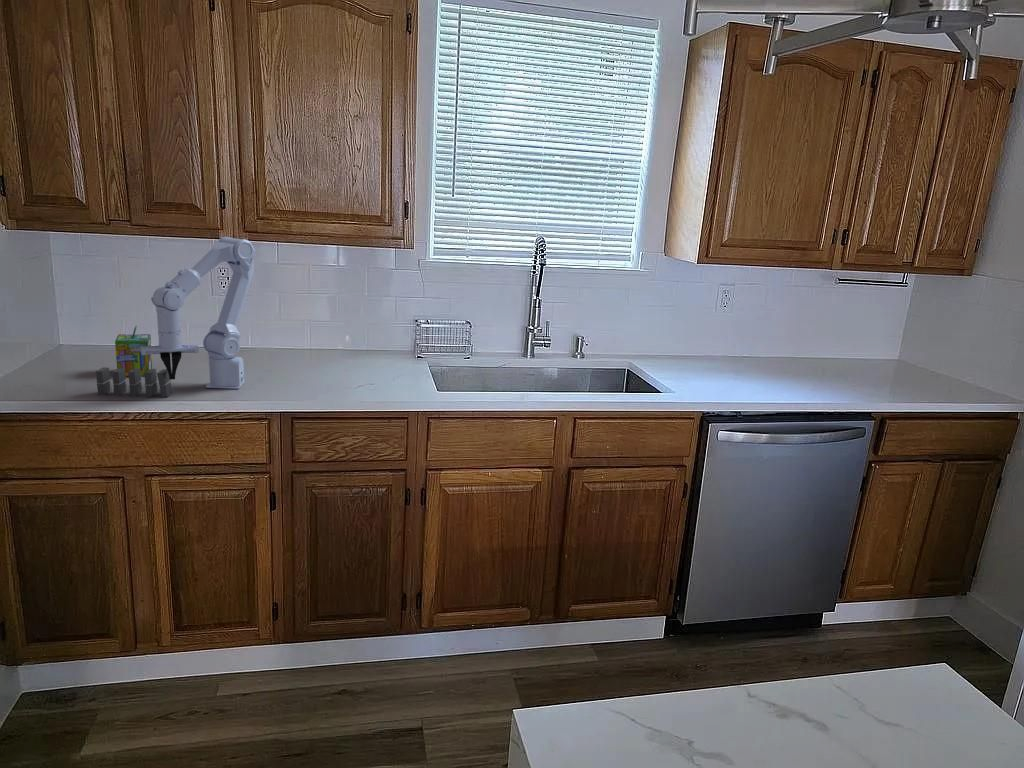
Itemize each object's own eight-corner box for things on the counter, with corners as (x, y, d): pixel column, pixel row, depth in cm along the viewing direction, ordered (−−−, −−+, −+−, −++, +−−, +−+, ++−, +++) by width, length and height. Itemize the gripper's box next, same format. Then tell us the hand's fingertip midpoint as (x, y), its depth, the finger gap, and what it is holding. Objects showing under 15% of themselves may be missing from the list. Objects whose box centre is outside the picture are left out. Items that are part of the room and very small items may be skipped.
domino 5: (172, 392, 207) (168, 368, 205) (167, 396, 203) (162, 372, 201) (166, 393, 207) (162, 369, 205) (161, 397, 202) (156, 373, 201)
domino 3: (142, 392, 206) (140, 368, 204) (136, 396, 202) (134, 372, 200) (136, 392, 206) (134, 368, 204) (130, 396, 201) (128, 372, 200)
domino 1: (110, 391, 205) (108, 367, 203) (104, 395, 201) (102, 371, 199) (104, 391, 205) (102, 367, 203) (98, 395, 200) (95, 371, 199)
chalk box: (120, 369, 227) (117, 323, 223) (153, 369, 230) (150, 323, 226) (116, 377, 219) (112, 329, 215) (150, 376, 222) (147, 329, 218)
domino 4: (157, 392, 206) (156, 369, 205) (152, 397, 202) (150, 372, 200) (151, 392, 206) (150, 368, 204) (146, 397, 202) (144, 372, 200)
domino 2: (126, 391, 205) (124, 368, 203) (120, 396, 201) (118, 371, 199) (120, 391, 205) (118, 367, 203) (114, 396, 201) (112, 371, 199)
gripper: (197, 327, 207) (199, 373, 210) (140, 328, 200) (143, 376, 204) (198, 332, 201) (200, 379, 204) (139, 333, 194) (143, 382, 198)
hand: (172, 378), depth 204 cm, fingers closed
